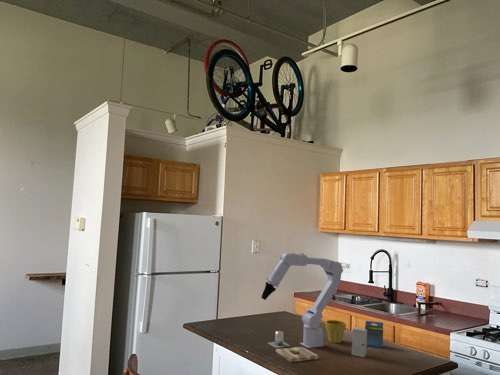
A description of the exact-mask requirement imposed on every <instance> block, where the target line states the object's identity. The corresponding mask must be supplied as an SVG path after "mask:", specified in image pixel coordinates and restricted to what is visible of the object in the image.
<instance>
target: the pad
mask: <svg viewBox="0 0 500 375" xmlns="http://www.w3.org/2000/svg"><path fill="white" fill-rule="evenodd" d="M267 344H268V345H270V346H271V347H273V348H275V349H280V348H290V347H291V345H290V344H288V343H287V342H285V341H283V345H281V346H279V345H275V341H271V342H267Z"/></svg>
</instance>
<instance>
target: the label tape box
mask: <svg viewBox="0 0 500 375" xmlns="http://www.w3.org/2000/svg"><path fill="white" fill-rule="evenodd" d="M364 329H367V346H368V347H378V348H379V347H380V348H383V347H384V322H381V321H372V320H365V325H364Z"/></svg>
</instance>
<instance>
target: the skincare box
mask: <svg viewBox="0 0 500 375" xmlns="http://www.w3.org/2000/svg"><path fill="white" fill-rule="evenodd" d="M351 336H352V337H351V355H352V356H356V357H361V358H365V357H366V356H367V329H365V327H357V326H354V327H353V328H352V334H351Z"/></svg>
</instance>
